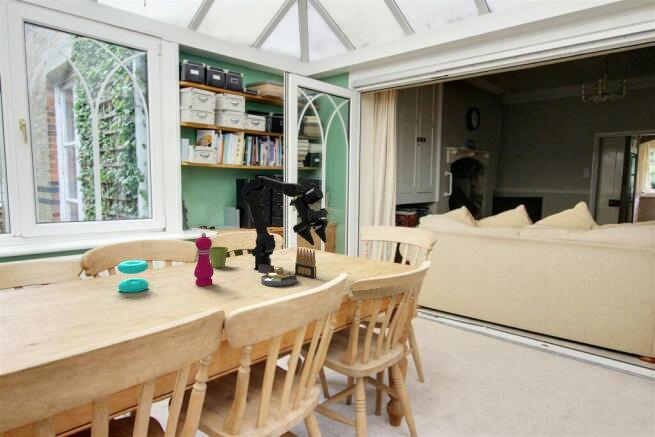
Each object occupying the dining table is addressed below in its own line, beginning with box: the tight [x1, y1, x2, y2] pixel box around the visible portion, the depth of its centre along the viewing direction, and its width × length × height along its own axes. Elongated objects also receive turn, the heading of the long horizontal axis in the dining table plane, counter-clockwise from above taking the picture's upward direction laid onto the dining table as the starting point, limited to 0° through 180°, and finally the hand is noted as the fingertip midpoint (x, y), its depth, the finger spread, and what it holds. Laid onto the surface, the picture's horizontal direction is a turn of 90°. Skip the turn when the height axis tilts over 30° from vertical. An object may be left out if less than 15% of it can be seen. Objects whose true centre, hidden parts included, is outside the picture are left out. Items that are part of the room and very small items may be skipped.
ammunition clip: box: [294, 247, 317, 280], centre depth 173 cm, size 11×2×12 cm, turn 52°
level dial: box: [257, 264, 291, 279], centre depth 164 cm, size 15×9×4 cm, turn 56°
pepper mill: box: [193, 232, 215, 287], centre depth 157 cm, size 7×7×20 cm
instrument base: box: [260, 274, 298, 288], centre depth 163 cm, size 14×14×3 cm
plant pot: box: [209, 246, 229, 269], centre depth 188 cm, size 9×9×9 cm
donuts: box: [117, 259, 149, 293], centre depth 148 cm, size 10×10×10 cm
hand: (319, 243), depth 168 cm, fingers open, 9 cm apart
